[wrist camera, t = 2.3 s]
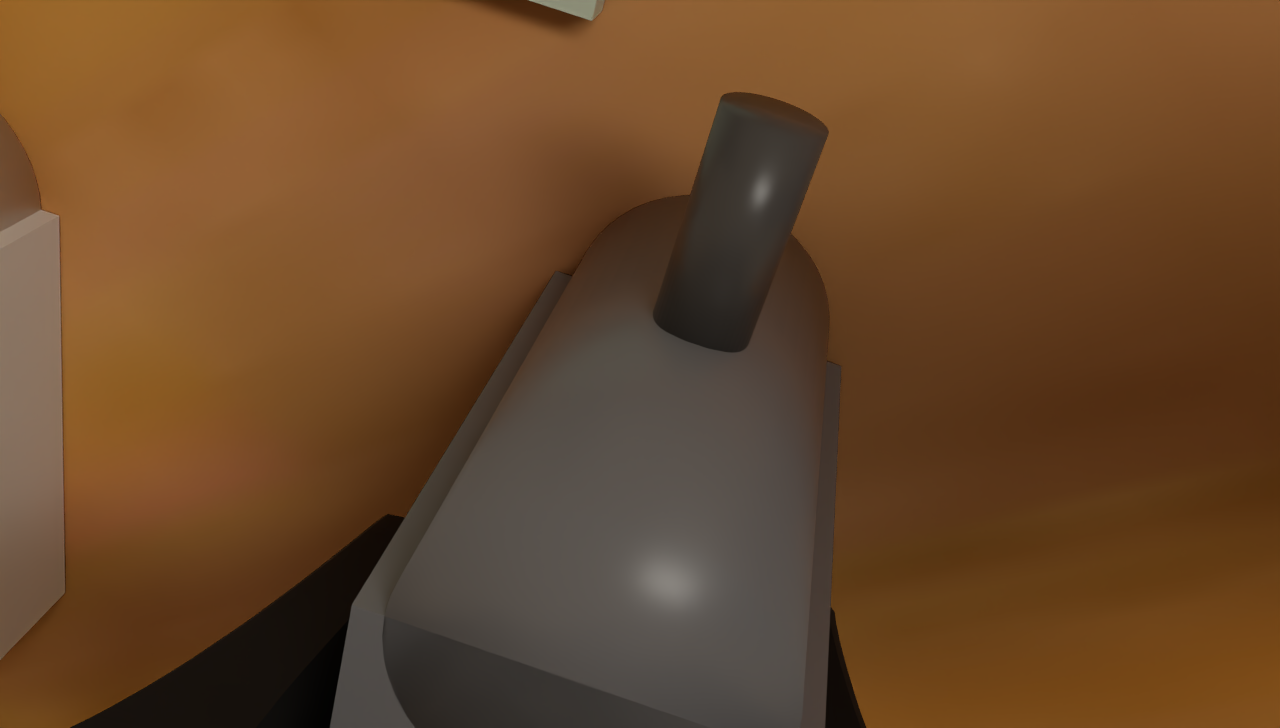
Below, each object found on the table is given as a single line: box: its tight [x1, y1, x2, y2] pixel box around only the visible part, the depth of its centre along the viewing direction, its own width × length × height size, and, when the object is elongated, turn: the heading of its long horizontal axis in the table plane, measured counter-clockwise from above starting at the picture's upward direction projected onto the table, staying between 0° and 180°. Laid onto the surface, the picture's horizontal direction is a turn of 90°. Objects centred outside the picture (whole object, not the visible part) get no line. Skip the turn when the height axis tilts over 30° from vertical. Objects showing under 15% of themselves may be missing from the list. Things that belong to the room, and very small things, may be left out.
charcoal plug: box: [330, 92, 841, 728], centre depth 12 cm, size 14×4×6 cm, turn 165°
